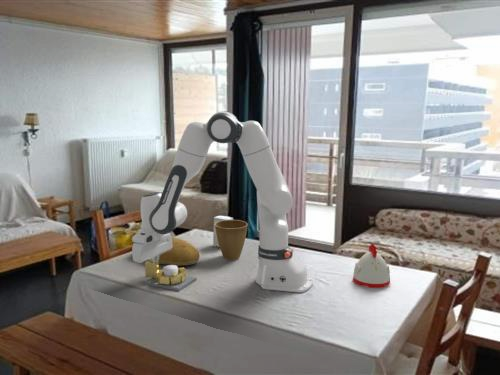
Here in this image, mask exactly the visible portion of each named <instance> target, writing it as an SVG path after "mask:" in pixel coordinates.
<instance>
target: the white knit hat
mask: <svg viewBox="0 0 500 375" xmlns="http://www.w3.org/2000/svg"><path fill="white" fill-rule="evenodd" d="M390 273H391V271H390V265H388V264H387V262H386V261H385V259H384V258H383V257H382V255H381V254H379V253H378V250H377V247H376V245H375V244H374V243H370V245H369V246H368V252H366V253H365V254H363V255H362V256H361V257H360V258H359V260H358V261H357V262H355V265H354V269H353V274H352V276H353V279H352V280H353V282H354V283H355V284H357V285H358V286H361V287H365V288H370V289H371V288H372V289H380V288H382V289H383V288H386V287H388V286H390V284H391V275H390Z"/></svg>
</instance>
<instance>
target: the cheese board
mask: <svg viewBox="0 0 500 375" xmlns="http://www.w3.org/2000/svg"><path fill="white" fill-rule="evenodd" d="M159 265H160V264H159V262H151V261H144V269H145V271H144V272H145V278H149V279H151V278H155V280H156V281H157V282H158V283H160V284H168V285H169V284H176V283H181V282H183V281H184V280H185V279H186V276H187V271H186V269H185V267H184V266H183V267H178V274H176V273H173V274H172V276H171V277H169V276H163V268H162V269H160V266H159ZM165 266H166V265H164V266H163V267H165Z"/></svg>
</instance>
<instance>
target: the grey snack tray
mask: <svg viewBox="0 0 500 375" xmlns="http://www.w3.org/2000/svg"><path fill="white" fill-rule="evenodd" d="M164 266H165V267H164ZM164 266H163V267H162V269H163V276H169V277H171V276H172V274H173V273H176V274H178V268H179V266H176V265H170V264H167V265H164ZM197 280H198V278H197V277H196V276H195V277H193V276H190V275H186V279H185V280H184V281H183V282H181V283H176V284H169V285H168V284H160V283H158V282H157V281H156V280H155V278H149V279H147V280H145V281H144V285H147V286H152V287H156V288H160V289H161V288H162V289H167V290H171V291H176V292H181V291H182V290H183V289H185V288H187V287H188V286H190V285H191V284H193V283H195V282H196V281H197Z"/></svg>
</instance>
